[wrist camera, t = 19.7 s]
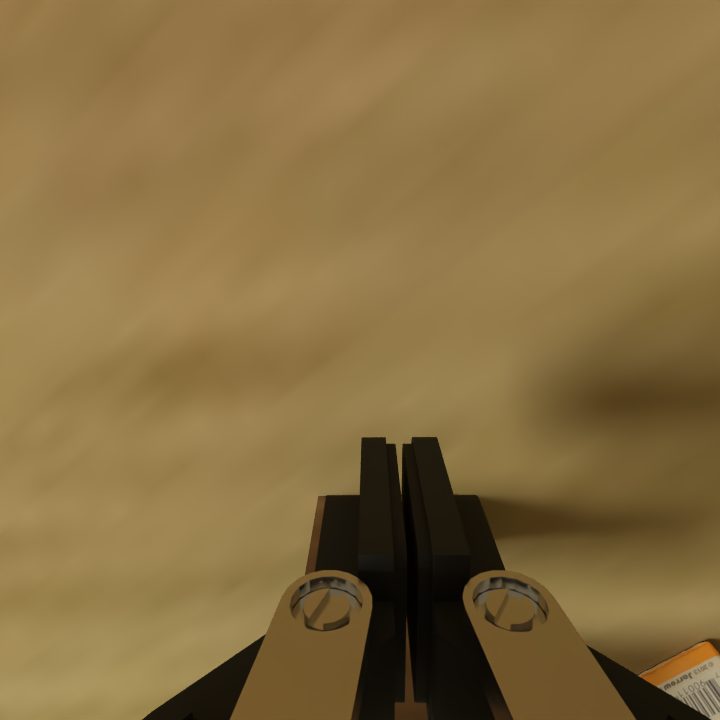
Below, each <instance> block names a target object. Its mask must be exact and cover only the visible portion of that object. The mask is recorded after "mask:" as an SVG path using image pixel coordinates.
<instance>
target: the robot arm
mask: <svg viewBox="0 0 720 720" xmlns="http://www.w3.org/2000/svg"><path fill="white" fill-rule="evenodd" d="M406 617H407V627H408V638H409V649H410V660H411V672H412V683H413V694H414V702H415V703H426V709H427V718H428V720H711V719H710V718H708V717H707V716H705V715H704V714H702V713H700V712H699V711H697V710H695V709H694V708H692V707H690V706H688V705H687V704H685V703H683V702H682V701H680V700H678V699H677V698H675V697H673V696H672V695H670V694H668V693H666V692H665V691H663V690H661V689H660V688H658V687H656V686H655V685H653V684H651V683H650V682H648V681H646V680H644V679H643V678H641V677H639V676H638V675H636V674H634V673H633V672H631V671H629V670H628V669H626V668H624V667H622V666H621V665H619V664H617V663H616V662H614V661H612V660H611V659H609V658H607V657H606V656H604V655H602V654H601V653H599V652H597V651H595V650H594V649H592V648H590V647H589V646H587V645H586V644H585V643H584V641H583V640H582V638H581V637H580V635H579V634H578V632H577V631H576V629H575V628H574V626H573V625H572V623H571V622H570V620H569V619H568V617H567V616H566V614H565V613H564V611H563V610H562V608H561V607H560V605H559V604H558V602H557V601H556V599H555V598H554V597H553V596H552V594H551V593H550V592H549V591H548V590H547V589H546V588H545V587H544V586H543V585H541V584H540V583H538V582H537V581H535V580H534V579H532V578H529V577H527V576H525V575H522V574H520V573H515V572H511V571H506V570H505V568H504V565H503V563H502V560H501V557H500V554H499V552H498V549H497V546H496V544H495V541H494V538H493V536H492V533H491V530H490V527H489V525H488V522H487V519H486V517H485V514H484V511H483V508H482V506H481V503H480V500H479V498H478V496H476V495H453V491H452V488H451V484H450V481H449V477H448V474H447V471H446V467H445V464H444V460H443V457H442V453H441V450H440V446H439V443H438V439H437V437H412V442H411V444H403V447H402V501H401V491H400V482H399V473H398V464H397V454H396V445H395V444H386V437H372V438H362V443H361V475H360V495H327V496H326V499H325V505H324V511H323V518H322V525H321V532H320V539H319V545H318V552H317V559H316V566H315V572H313V573H309V574H307V575H305V576H303V577H301V578H299V579H297V580H296V581H295V582H293V583H292V584H291V585H290V586H289V587H288V588H287V590H286V591H285V593H284V594H283V596H282V598H281V600H280V602H279V605H278V607H277V609H276V612H275V614H274V617H273V619H272V621H271V624H270V626H269V628H268V631H267V633H266V634H265V635H264V636H262V637H261V638H260V639H258V640H257V641H255V642H254V643H252V644H251V645H249V646H248V647H246V648H245V649H243V650H242V651H240V652H239V653H238V654H236V655H235V656H233V657H232V658H230V659H229V660H227V661H226V662H224V663H223V664H221V665H220V666H218V667H217V668H215V669H214V670H213V671H211V672H210V673H208V674H207V675H205V676H204V677H202V678H201V679H199V680H198V681H196V682H195V683H193V684H192V685H190V686H189V687H188V688H186V689H185V690H183V691H182V692H180V693H179V694H177V695H176V696H174V697H173V698H171V699H170V700H168V701H167V702H166V703H164V704H163V705H161V706H160V707H158V708H157V709H155V710H154V711H152V712H151V713H150V714H148V715H147V716H146V717H145V718H144V719H143V720H395V703H405V674H406Z"/></svg>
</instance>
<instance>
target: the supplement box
mask: <svg viewBox="0 0 720 720" xmlns="http://www.w3.org/2000/svg"><path fill="white" fill-rule="evenodd" d="M638 676H639V677H641V678H643V679H644V680H646V681H648V682H650V683H651V684H653V685H655V686H656V687H658V688H660V689H661V690H663V691H665V692H666V693H668V694H670V695H672V696H673V697H675V698H677V699H678V700H680V701H682V702H683V703H685V704H687V705H688V706H690V707H692V708H694V709H695V710H697V711H699V712H700V713H702V714H704V715H705V716H707V717H708V718H710V719H711V720H720V654H719V652H718V651H717V650H716V649H715V648H714V646H713V645H712V644H711V643H709V642H706V641H705V642H702V643H698V644H697V645H695V646H693V647H692V648H690V649H688V650H686V651H683V652H681V653H680V654H678V655H676V656H674V657H672V658H670V659H668V660H667V661H664V662H662V663H660V664H658V665H657V666H655V667H654V668H652V669H650V670H647V671H644V672H643V673H641V674H639V675H638Z"/></svg>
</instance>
